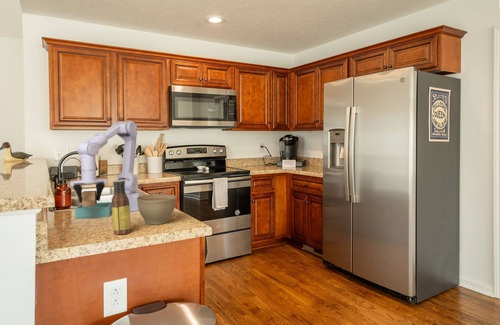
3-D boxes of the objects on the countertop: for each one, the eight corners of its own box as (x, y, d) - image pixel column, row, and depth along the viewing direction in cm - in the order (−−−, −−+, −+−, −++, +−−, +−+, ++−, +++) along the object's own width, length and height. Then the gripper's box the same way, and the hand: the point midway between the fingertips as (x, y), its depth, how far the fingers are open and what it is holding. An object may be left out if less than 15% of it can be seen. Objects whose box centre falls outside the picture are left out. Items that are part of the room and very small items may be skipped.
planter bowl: (136, 228, 136) (135, 201, 135) (138, 219, 152) (137, 194, 151) (177, 225, 140) (177, 199, 140) (175, 217, 156) (175, 193, 155)
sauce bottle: (133, 230, 132) (131, 179, 131) (127, 235, 126) (126, 181, 125) (115, 230, 132) (114, 179, 131) (109, 235, 126) (108, 181, 124)
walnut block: (96, 204, 152) (96, 190, 151) (95, 206, 147) (94, 192, 146) (84, 204, 150) (84, 191, 150) (82, 206, 145) (81, 192, 145)
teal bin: (112, 211, 168) (111, 202, 168) (109, 216, 157) (108, 206, 156) (81, 213, 164) (80, 203, 164) (75, 218, 153) (75, 208, 153)
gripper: (103, 168, 155) (104, 198, 156) (67, 170, 146) (69, 202, 147) (108, 169, 150) (109, 200, 151) (71, 171, 141) (72, 204, 141)
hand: (89, 201), depth 148 cm, fingers closed on walnut block, 6 cm apart
